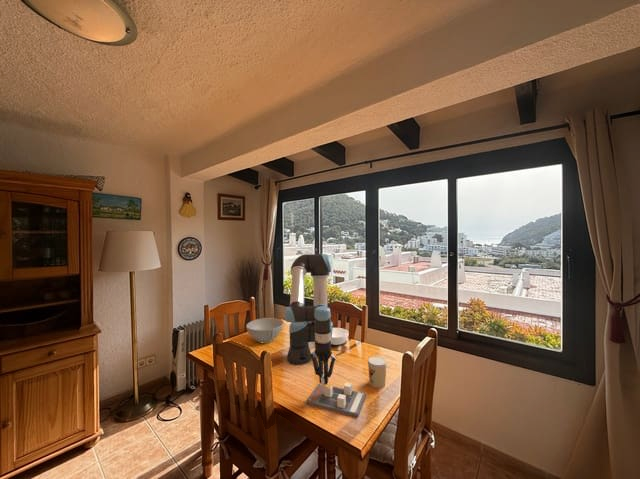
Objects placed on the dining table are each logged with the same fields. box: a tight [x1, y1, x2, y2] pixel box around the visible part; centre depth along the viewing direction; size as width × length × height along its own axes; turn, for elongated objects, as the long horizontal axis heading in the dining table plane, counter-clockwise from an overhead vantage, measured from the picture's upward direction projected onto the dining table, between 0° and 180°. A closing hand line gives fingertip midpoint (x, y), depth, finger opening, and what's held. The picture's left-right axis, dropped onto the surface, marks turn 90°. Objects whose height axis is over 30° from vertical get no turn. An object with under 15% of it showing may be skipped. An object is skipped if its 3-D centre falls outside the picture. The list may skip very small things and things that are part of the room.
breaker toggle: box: [324, 383, 333, 397], centre depth 122 cm, size 3×3×4 cm
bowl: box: [330, 327, 350, 346], centre depth 186 cm, size 18×18×7 cm
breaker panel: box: [305, 382, 367, 419], centre depth 121 cm, size 24×15×6 cm, turn 67°
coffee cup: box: [367, 356, 387, 389], centre depth 133 cm, size 9×9×12 cm
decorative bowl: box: [245, 317, 284, 344], centre depth 192 cm, size 27×27×12 cm
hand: (323, 390), depth 123 cm, fingers closed
